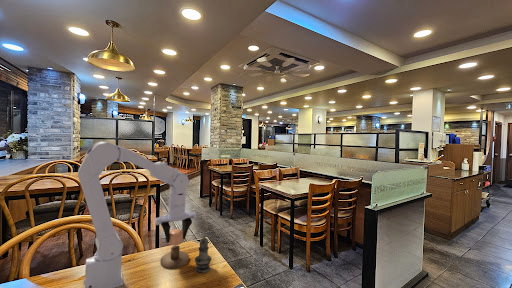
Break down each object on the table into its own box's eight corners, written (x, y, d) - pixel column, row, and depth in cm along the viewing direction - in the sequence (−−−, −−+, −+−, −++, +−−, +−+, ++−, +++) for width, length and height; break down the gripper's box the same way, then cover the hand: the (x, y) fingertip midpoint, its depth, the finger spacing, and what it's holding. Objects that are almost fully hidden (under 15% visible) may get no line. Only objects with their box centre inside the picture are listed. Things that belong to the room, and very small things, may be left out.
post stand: (163, 271, 75) (164, 257, 75) (157, 257, 84) (158, 244, 83) (192, 263, 81) (193, 250, 81) (184, 251, 89) (184, 239, 89)
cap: (166, 240, 83) (166, 230, 83) (180, 237, 86) (180, 228, 86) (170, 246, 78) (170, 236, 78) (184, 243, 82) (185, 233, 81)
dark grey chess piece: (213, 265, 81) (214, 233, 80) (208, 274, 75) (209, 240, 75) (197, 263, 81) (199, 231, 81) (191, 272, 76) (193, 238, 75)
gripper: (158, 210, 74) (157, 249, 75) (199, 204, 83) (198, 239, 83) (154, 204, 80) (153, 240, 80) (193, 199, 88) (191, 232, 89)
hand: (175, 239), depth 82 cm, fingers closed on cap, 5 cm apart
